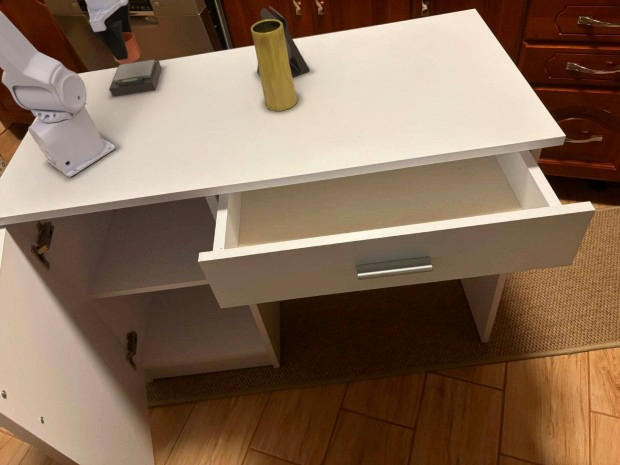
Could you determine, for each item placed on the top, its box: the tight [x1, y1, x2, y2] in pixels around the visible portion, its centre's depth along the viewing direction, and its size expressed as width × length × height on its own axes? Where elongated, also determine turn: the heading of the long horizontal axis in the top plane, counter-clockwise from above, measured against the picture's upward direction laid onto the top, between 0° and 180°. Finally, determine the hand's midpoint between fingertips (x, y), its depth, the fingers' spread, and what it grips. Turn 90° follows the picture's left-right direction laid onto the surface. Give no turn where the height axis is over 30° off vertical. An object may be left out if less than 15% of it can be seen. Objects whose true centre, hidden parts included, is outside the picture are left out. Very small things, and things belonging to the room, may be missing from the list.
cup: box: [113, 32, 142, 65], centre depth 91 cm, size 5×5×4 cm
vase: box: [250, 19, 299, 112], centre depth 83 cm, size 6×6×14 cm
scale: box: [108, 59, 163, 97], centre depth 99 cm, size 9×9×3 cm
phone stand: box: [256, 5, 310, 79], centre depth 91 cm, size 9×6×12 cm, turn 115°
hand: (125, 51), depth 91 cm, fingers closed on cup, 5 cm apart
